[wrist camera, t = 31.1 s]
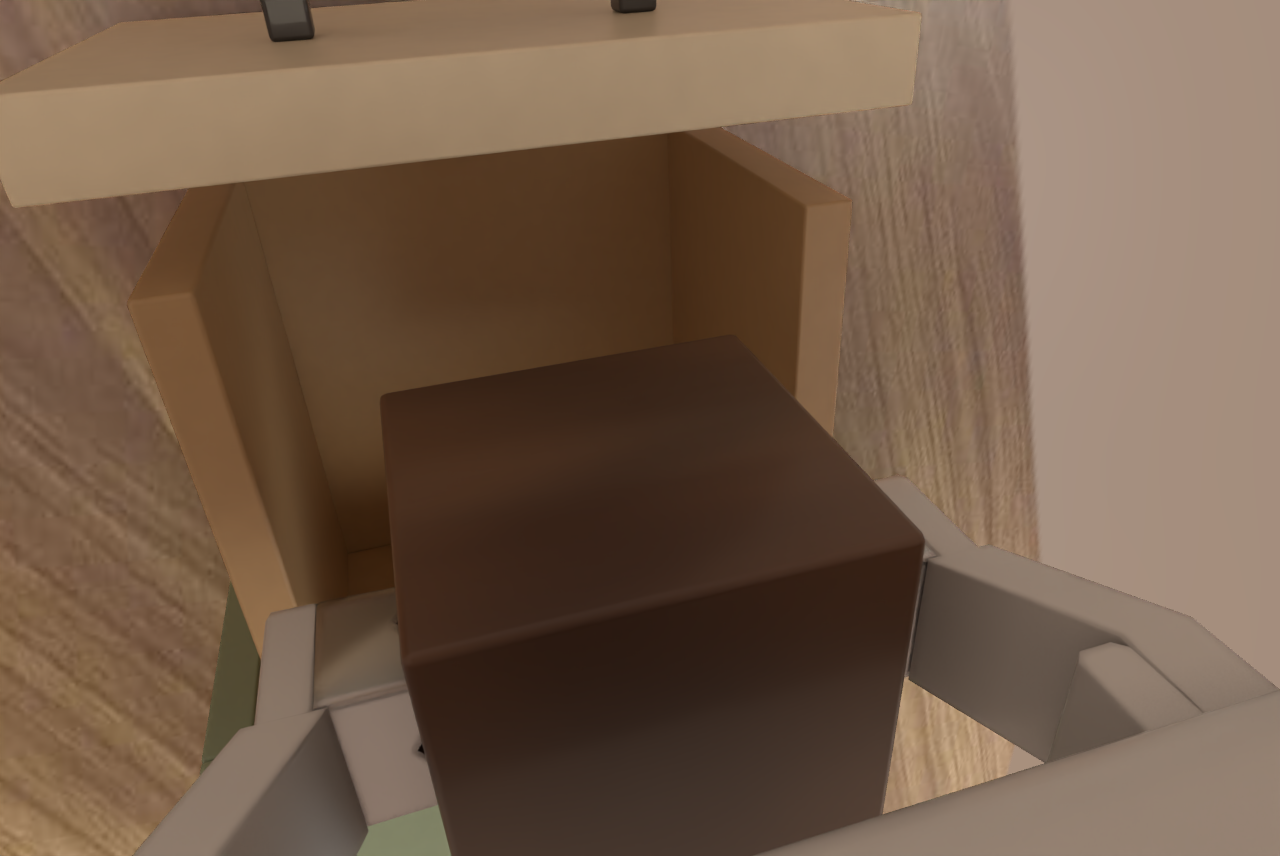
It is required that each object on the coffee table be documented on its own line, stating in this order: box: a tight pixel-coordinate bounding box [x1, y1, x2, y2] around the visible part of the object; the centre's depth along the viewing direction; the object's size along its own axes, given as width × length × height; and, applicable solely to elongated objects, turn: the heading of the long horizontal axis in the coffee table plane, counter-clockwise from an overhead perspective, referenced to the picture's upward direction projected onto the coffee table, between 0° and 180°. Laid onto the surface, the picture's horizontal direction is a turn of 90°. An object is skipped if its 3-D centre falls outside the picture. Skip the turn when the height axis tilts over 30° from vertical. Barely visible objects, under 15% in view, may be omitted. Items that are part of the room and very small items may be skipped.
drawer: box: [0, 0, 922, 660], centre depth 16 cm, size 17×11×8 cm, turn 3°
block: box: [380, 334, 925, 856], centre depth 10 cm, size 4×4×4 cm
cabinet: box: [200, 580, 451, 856], centre depth 22 cm, size 14×13×10 cm
